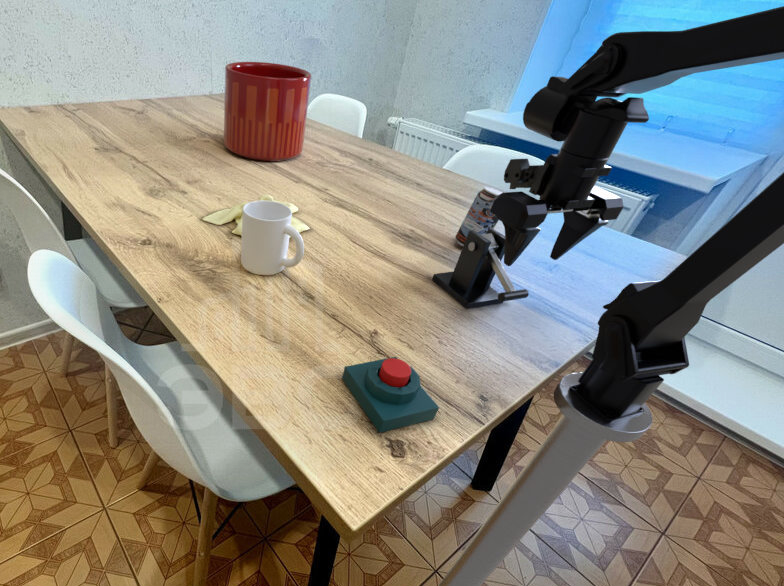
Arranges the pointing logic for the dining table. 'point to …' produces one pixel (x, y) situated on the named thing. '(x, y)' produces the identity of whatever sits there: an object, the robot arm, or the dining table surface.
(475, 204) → the beverage can
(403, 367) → the button
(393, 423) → the button block
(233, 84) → the planter
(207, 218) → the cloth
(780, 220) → the robot arm
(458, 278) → the bracket
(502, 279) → the lever
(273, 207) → the mug
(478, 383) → the dining table surface
